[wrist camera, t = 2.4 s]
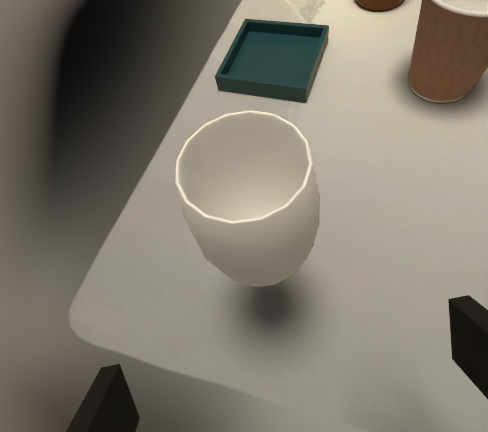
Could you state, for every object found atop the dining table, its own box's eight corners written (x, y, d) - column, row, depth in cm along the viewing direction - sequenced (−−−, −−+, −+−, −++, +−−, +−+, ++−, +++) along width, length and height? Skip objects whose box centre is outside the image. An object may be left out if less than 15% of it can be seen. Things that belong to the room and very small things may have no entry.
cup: (290, 346, 31) (277, 266, 13) (222, 308, 34) (130, 195, 15) (324, 276, 34) (352, 127, 16) (258, 245, 36) (216, 86, 18)
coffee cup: (469, 49, 45) (520, -58, 34) (499, 108, 40) (569, 3, 29) (386, 60, 46) (411, -41, 36) (405, 119, 41) (441, 21, 31)
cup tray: (305, 102, 45) (306, 88, 43) (218, 90, 48) (214, 76, 46) (327, 40, 49) (329, 25, 47) (247, 33, 53) (245, 18, 51)
